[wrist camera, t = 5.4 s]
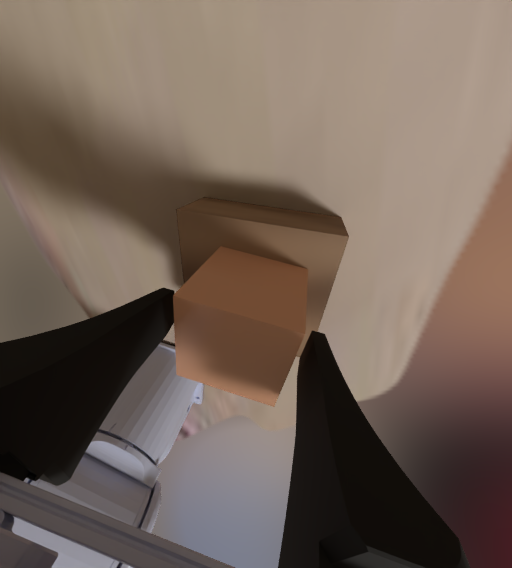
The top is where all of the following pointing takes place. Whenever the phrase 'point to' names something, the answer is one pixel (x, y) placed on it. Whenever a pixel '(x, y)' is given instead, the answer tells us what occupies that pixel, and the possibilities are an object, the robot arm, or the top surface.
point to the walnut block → (266, 243)
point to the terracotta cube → (240, 323)
